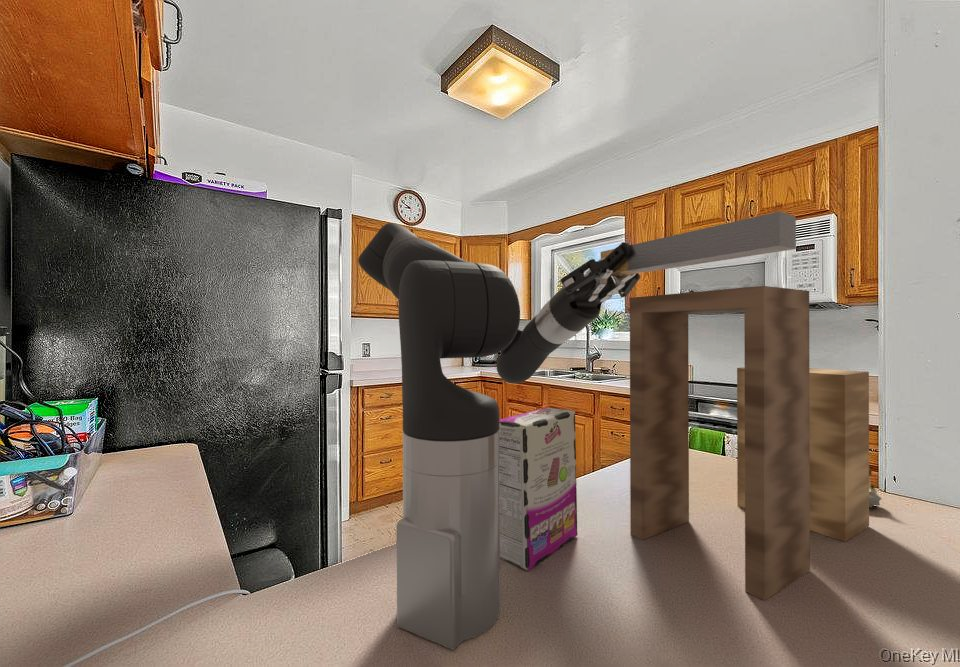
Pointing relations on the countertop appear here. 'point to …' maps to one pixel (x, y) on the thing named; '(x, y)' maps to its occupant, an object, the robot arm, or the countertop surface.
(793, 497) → the walnut bridge
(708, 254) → the grey and wood bar
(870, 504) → the figurine
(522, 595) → the countertop surface
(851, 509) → the oak block
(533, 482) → the candy bar box
